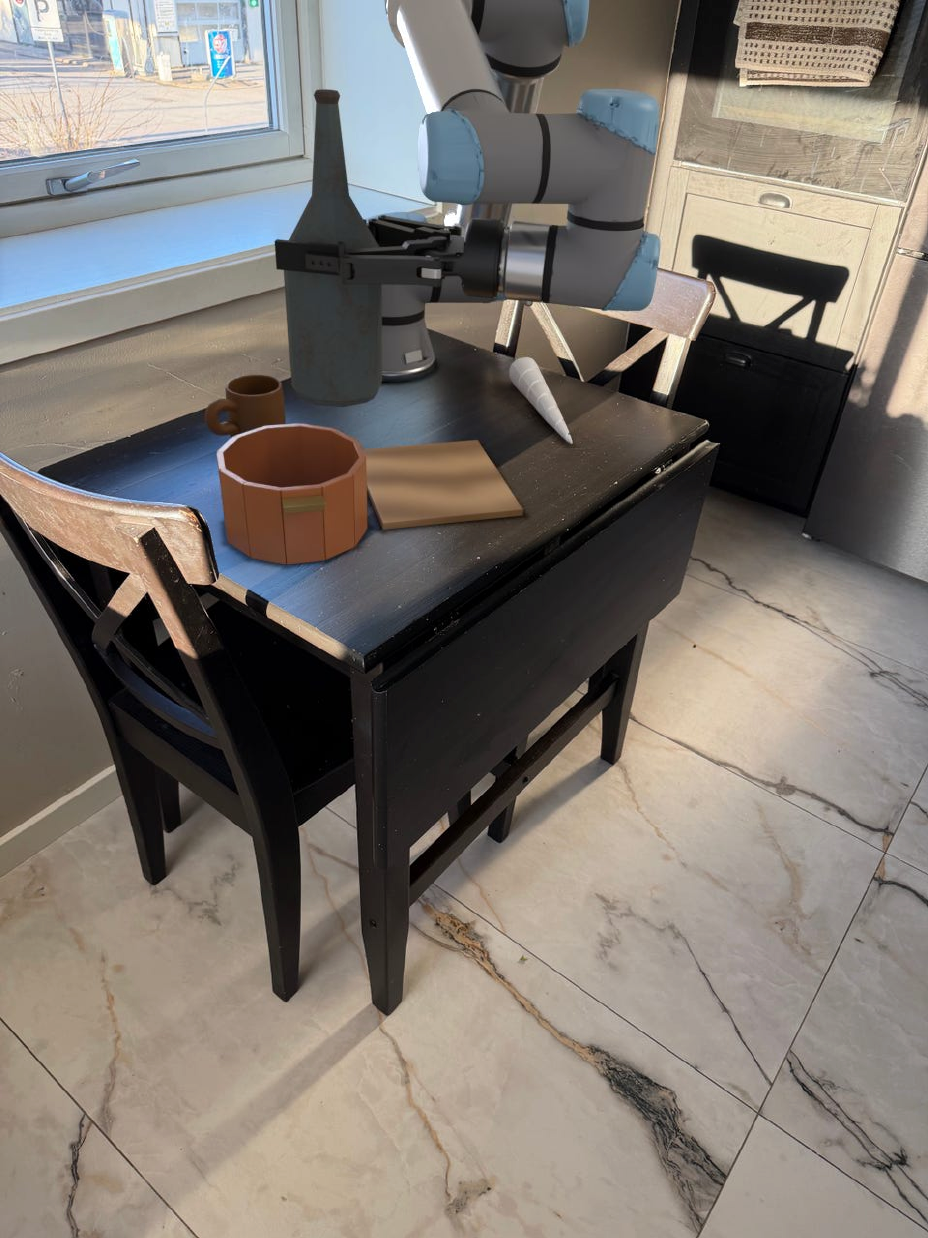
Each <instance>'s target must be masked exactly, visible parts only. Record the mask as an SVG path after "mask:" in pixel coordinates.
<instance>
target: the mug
mask: <svg viewBox="0 0 928 1238" xmlns="http://www.w3.org/2000/svg"><path fill="white" fill-rule="evenodd" d="M284 395H285V394H284V389H283V383H282V382H281V380H280V379H278V378H276V377H274V376H270V375H266V374H244V375H240V376H236V377H234V378H232V379H230V380H228V382H227V383H226V385H225V398H224V397H223V398H222V397H219V398H216V399H214V400H212V401H211V402H210V403H209V404H208V405H207V407H206V409H205V413H204V421H205V424H206V427H207V429H208V430H209V431H210V432H211V433H212V434H214V435H216V436H220V437H223V436H229V438H230V439H231V438H232V437H234V436H236V435H239V434H242V433H245V432H248V431H251V430H254V429H257V428H260V427H263V426H268V425H282V424H287V419H286V418H287V417H286V408H285V407H286V406H285V396H284ZM221 411H224V412H226V413H227V421H223V422H219V421H220V420H218V419H219V418H218V415H219V413H220V412H221Z"/></svg>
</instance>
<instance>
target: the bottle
mask: <svg viewBox="0 0 928 1238" xmlns="http://www.w3.org/2000/svg"><path fill="white" fill-rule="evenodd" d="M313 93H314V94H313V97H314V101H315V121H314V122H315V123H314V143H313V163H312V164H313V165H312V183H311V185H312V186H311V196H310V197H309V199H308V202H307V204H306V206H305V208H304V209H303V211H302V214H301V216H300V217H299V219H298V221H297V223H296V225H295V227H294V228H293V231H292V233H291V234H290V236H289V238H288V240H291V241H302V242H312V243H323V244H334V245H338V242H340V241H343V242H344V243H345V244H346V249H357V248H376V247H379V245H378V244H377V242H376V240H375V239H374V237H373V235H372V233H371V232H370V230H369V228H368V227H367V225H366V223H365V221H364V220H363V219H364V218H363V217H362V215H361V212H360V211H359V210H358V208H357V206H356V204H355V203H354V201H353V199H352V197H351V195H350V190H349V181H348V173H347V165H346V157H345V148H344V139H343V132H342V122H341V115H340V113H341V112H340V105H339V102H340V99H341V94H340V92H339V90H337V89H336V90H335V89H327V88H325V89H324V88H323V89H320V88H319V89H315V92H313ZM353 269H354V265H353ZM283 279H284V280H283V281H284V295H285V311H286V312H285V313H286V325H287V340H288V355H289V370H290V371H289V372H290V385H291V387H292V389H293V390H294V391H295V393H296V394H297V396H298V398H299V399H302V400H304V401H306V402H309V403H311V404H314V405H316V406H321V407H335V408H346V407H352V406H356V405H361V404H367V403H369V402H370V401H372V400H374V399H375V398H376V396H377V394H378V393H379V390H380V388H381V385H382V382H383V381H382V285H381V284H348V285H346V284H342V283H341V279H340V277H339V275H330V274H319V273H309V272H299V271H288V270H283Z"/></svg>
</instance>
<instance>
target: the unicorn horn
mask: <svg viewBox="0 0 928 1238" xmlns="http://www.w3.org/2000/svg"><path fill="white" fill-rule="evenodd" d="M508 377H509V379H510V381H511V383H512V384H513V385H514V386H515V387H516V388H517V390H519V392H520V393H521V394H522V395H523V396H524V398H526V400H528V402H529V403H530V404H531V405H532V407H533V408H534V409H535V410H536V411H537V412H538V413H539V415H540V416H541V417H542V418H543V419H544V420H545V421H546V422H547V424H549V426H551V428H552V429H554V431H555V432H556V433H557V434H558V435H559V436H560V437H561V438H562V439H564V440H565V441H566V442H567V443H569V444H571V445H572V444H573V443H574V442H573V440H572V436H571V434H570V430H569V428H568V426H567V424H566V421H565V419H564V416H563V415H562V413H561V411H560V409H559V407H558V404H557V402H556V400H555V398H554V396H553V394H552V392H551V390H550V387H549V386H548V383H546V380H545V377H544V376H543V374H542V372H541V370H540V368H539V365H538V363H537V362H536V361H535V359H533V358H532V357H529V356H521V357H519V358H516V359H515V360H514V361H513V362H512V363H511V365H510V367H509V369H508Z"/></svg>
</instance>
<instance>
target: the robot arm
mask: <svg viewBox="0 0 928 1238" xmlns="http://www.w3.org/2000/svg"><path fill="white" fill-rule="evenodd" d="M383 5H384V12H385V16H386V19H387V22H388V26H389V29H390V31H391V33H392V35H393V37H394V38H395V40H396V41H397V42H398V44H400V46H401V47H403V48H404V49H405V50H406V52H407V56H408V58H409V59H408V60H409V62H410V65H411V69H412V72H413V74H414V77H415V81H416V85H417V88H418V91H419V94H420V98H421V100H422V104H423V106H424V110H425V113H426V114H425V115H424V116H423V117H422V119H421V122H420V124H419V129H418V137H417V170H418V174H419V175H418V176H419V186H420V189H421V192H422V194H423V195H424V196H425V197H426V199H427V200H429V201H431V202H433V203H444V204H445V203H446V204H452V205H451V206H450V207H449V208H448V209H447V211H446V212H445V216H444V218H443V219H444V220H443V224H437V223H431V222H428V220H427V217H426V216H425V215H424V214H421V213H419V212H413V211H412V212H407V211H393V212H387V213H385V212H384V213H380V214H376V215H373V216H370V217H367V218H363V220H364V221H365V223H366V225H367V227H368V228H369V230H370V232H371V233H372V235H373V237H374V239H375V240H376V242H377V244H378V245H379V247H376V248H357V249H346V244H345V243H344V242H343V241H340V242H338V245H334V244H323V243H312V242H302V241H291V240H289V239H280V238H277V239H275V240H274V253H275V268H276V270H280V271H284V270H288V271H299V272H309V273H319V274H330V275H339V277H340V279H341V283H342V284H346V285H348V284H381V285H382V382H387V383H391V382H392V383H395V382H396V383H397V382H407V381H415V380H418V379H421V378H423V377H425V376H427V375H430V374H431V373H432V371H434V369H435V359H436V356H435V351H434V348H433V344H432V342H431V337H430V334H429V331H428V328H427V324H426V319H425V318H426V316H425V315H426V304H490V303H493V302H494V303H496V302H504V301H507V300H509V301H520V302H521V301H523V305H524V306H525V307H529V308H530V307H532V306H533V304H534V303H540V304H549V305H550V304H553V305H561V306H567V307H568V306H569V307H577V308H585V309H594V310H601V312H607V311H611V312H612V311H614V312H616V311H617V312H640V311H641V312H642V311H643V310H645V309H647V307H649V306H650V304H651V302H652V300H653V297H654V293H655V288H656V284H657V278H658V277H657V276H658V272H659V271H658V270H659V263H660V256H661V255H660V254H661V247H662V246H661V244H662V243H661V238H660V237H659V235H658V234H655V233H650V232H648V231H647V230H645V223H644V221H645V213H646V208H647V207H646V206H647V202H648V195H649V190H650V185H651V179H652V175H653V174H652V173H653V170H654V164H655V158H656V155H657V145H658V137H659V136H658V135H659V126H660V104H659V102H658V101H657V99H656V98H655V97H654V96H653V95H651V94H649V93H646V92H641V91H638V90H631V89H621V88H591V89H587V90H585V91H584V92H583V93H582V94H581V96H580V98H579V101H578V102H579V103H578V106H577V108H576V113H537V110H538V107H539V103H540V97H541V92H542V88H543V84H544V80H545V77H547V76H549V75H551V74H552V73H554V72H555V71H556V70H557V69H558V67H559V65H560V62H561V60H562V59H561V58H562V56H563V51H564V47H566V46H567V48H573V47H576V46H578V45H579V44H581V42H582V40H584V37H585V34H586V30H587V27H588V26H587V25H588V20H589V10H590V0H383ZM519 204H520V205H522V204H523V205H526V204H527V205H528V204H530V205H567V210H566V211H567V212H566V220H567V224H566V225H557V224H551V223H546V222H545V223H543V222H532V221H522V220H521V221H520V220H517V218H516V217H515V216H514V212H515V207H516V205H519ZM353 265H354V269H353Z"/></svg>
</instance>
